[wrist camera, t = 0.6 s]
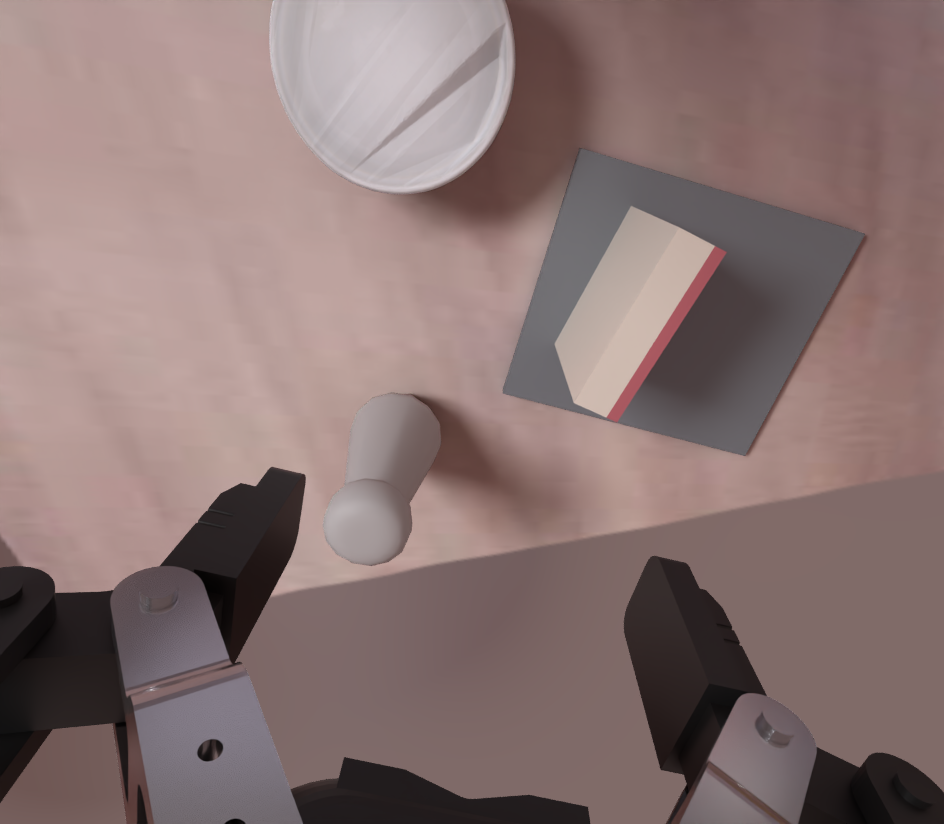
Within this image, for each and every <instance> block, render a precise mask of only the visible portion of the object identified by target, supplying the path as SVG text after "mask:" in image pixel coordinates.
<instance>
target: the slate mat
mask: <svg viewBox="0 0 944 824" xmlns="http://www.w3.org/2000/svg"><path fill="white" fill-rule="evenodd" d="M631 206H633V207H635V208H637V209H639V210H642V211H644V212H646V213H648V214H651V215H653V216H655V217H657V218H659V219H662V220H664V221H666V222H668V223H671V224H673V225H675V226H677V227H680V228H681V229H683V230H685V231H687V232H689V233H691V234H693V235H695V236H697V237H699V238H701V239H703V240H704V241H706V242H708V243H710V244H712V245H714V246H716V247H718V248H720V249H722V250H724V251H725V252H727V253H726V254H725V256H724V257H723V259H722V260H721V262H720V264H719V265H718V267H717V268H716V270H715V271H714V273H713V274H712V276H711V277H710V279H709V281H708V282H707V284H706V285H705V287H704V288H703V290H702V291H701V293H700V295H699V296H698V298H697V299H696V301H695V302H694V304H693V305H692V307H691V308H690V310H689V312H688V313H687V315H686V316H685V318H684V319H683V321H682V322H681V324H680V326H679V327H678V329H677V330H676V332H675V333H674V335H673V336H672V338H671V339H670V341H669V343H668V344H667V346H666V347H665V349H664V350H663V352H662V353H661V355H660V357H659V358H658V360H657V361H656V363H655V364H654V366H653V367H652V369H651V370H650V372H649V374H648V375H647V377H646V378H645V380H644V381H643V383H642V384H641V386H640V388H639V389H638V391H637V392H636V394H635V395H634V397H633V398H632V400H631V402H630V403H629V405H628V406H627V408H626V409H625V411H624V412H623V414H622V415H621V417H620V419H619V420H618V422H616V423H620V424H623V425H627V426H631V427H635V428H639V429H643V430H647V431H651V432H654V433H658V434H662V435H666V436H670V437H674V438H678V439H681V440H685V441H689V442H693V443H697V444H701V445H705V446H709V447H712V448H716V449H720V450H724V451H728V452H732V453H736V454H739V455H743V456H745V455H746V453H747V451H748V449H749V448H750V446H751V444H752V442H753V440H754V438H755V436H756V435H757V433H758V431H759V429H760V427H761V425H762V424H763V422H764V420H765V418H766V416H767V414H768V412H769V411H770V409H771V407H772V405H773V403H774V401H775V400H776V398H777V396H778V394H779V392H780V390H781V388H782V387H783V385H784V383H785V381H786V379H787V377H788V376H789V374H790V372H791V370H792V368H793V366H794V364H795V363H796V361H797V359H798V357H799V355H800V353H801V351H802V350H803V348H804V346H805V344H806V342H807V340H808V339H809V337H810V335H811V333H812V331H813V329H814V327H815V326H816V324H817V322H818V320H819V318H820V316H821V315H822V313H823V311H824V309H825V307H826V305H827V303H828V302H829V300H830V298H831V296H832V294H833V292H834V291H835V289H836V287H837V285H838V283H839V281H840V279H841V278H842V276H843V274H844V272H845V270H846V268H847V267H848V265H849V263H850V261H851V259H852V257H853V255H854V254H855V252H856V250H857V248H858V246H859V244H860V243H861V241H862V239H863V237H864V235H865V234H864V233H861V232H858V231H854V230H851V229H848V228H844V227H841V226H838V225H834V224H831V223H828V222H825V221H821V220H818V219H815V218H811V217H808V216H805V215H801V214H798V213H795V212H791V211H788V210H785V209H781V208H778V207H775V206H771V205H768V204H765V203H761V202H758V201H755V200H752V199H748V198H745V197H742V196H738V195H735V194H732V193H728V192H725V191H722V190H718V189H715V188H712V187H708V186H705V185H702V184H698V183H695V182H692V181H688V180H685V179H682V178H678V177H675V176H672V175H669V174H665V173H662V172H659V171H655V170H652V169H649V168H645V167H642V166H639V165H635V164H632V163H629V162H625V161H622V160H619V159H615V158H612V157H609V156H605V155H602V154H599V153H595V152H592V151H589V150H586V149H582V148H579V151H578V155H577V158H576V161H575V164H574V167H573V170H572V173H571V177H570V180H569V183H568V186H567V189H566V192H565V196H564V199H563V202H562V205H561V208H560V211H559V214H558V218H557V221H556V224H555V227H554V230H553V233H552V237H551V240H550V243H549V246H548V249H547V252H546V255H545V259H544V262H543V265H542V268H541V271H540V274H539V277H538V281H537V284H536V287H535V290H534V293H533V296H532V300H531V303H530V306H529V309H528V312H527V315H526V318H525V322H524V325H523V328H522V331H521V334H520V337H519V341H518V344H517V347H516V350H515V353H514V356H513V359H512V363H511V366H510V369H509V372H508V375H507V378H506V381H505V385H504V388H503V393H504V394H507V395H511V396H515V397H519V398H523V399H527V400H531V401H534V402H538V403H542V404H546V405H550V406H554V407H558V408H562V409H565V410H569V411H573V412H577V413H581V414H585V415H589V416H592V417H596V418H600V419H604V420H608V421H612V422H615V421H613V420H610V419H608V418H606V417H604V416H602V415H599V414H597V413H595V412H593V411H590V410H588V409H586V408H584V407H582V406H579V405H577V404H575V403H574V402H573V399H572V396H571V393H570V390H569V387H568V384H567V381H566V378H565V374H564V371H563V368H562V365H561V362H560V359H559V356H558V353H557V350H556V347H555V342H556V340H557V338H558V337H559V335H560V333H561V331H562V329H563V328H564V326H565V324H566V322H567V321H568V319H569V317H570V315H571V313H572V312H573V310H574V308H575V306H576V304H577V303H578V301H579V299H580V297H581V295H582V294H583V292H584V290H585V288H586V286H587V285H588V283H589V281H590V279H591V277H592V276H593V274H594V272H595V270H596V268H597V267H598V265H599V263H600V261H601V259H602V258H603V256H604V254H605V252H606V250H607V249H608V247H609V245H610V243H611V241H612V240H613V238H614V236H615V234H616V232H617V231H618V229H619V227H620V225H621V223H622V222H623V220H624V218H625V216H626V214H627V213H628V211H629V209H630V207H631Z"/></svg>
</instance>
